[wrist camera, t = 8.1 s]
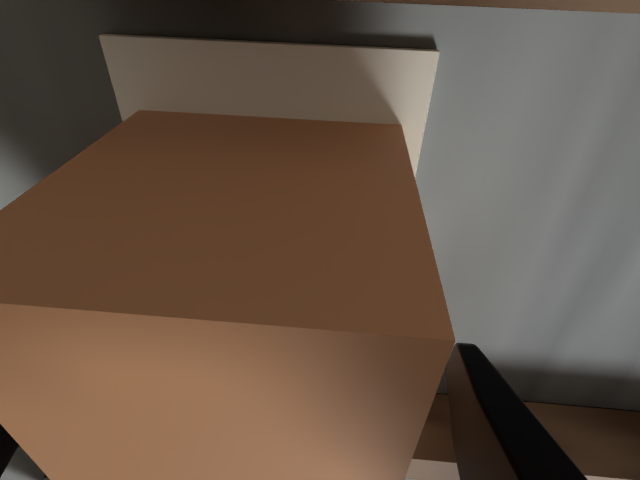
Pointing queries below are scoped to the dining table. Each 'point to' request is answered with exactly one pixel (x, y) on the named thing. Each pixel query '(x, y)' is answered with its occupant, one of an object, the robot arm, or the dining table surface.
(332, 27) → the dining table surface
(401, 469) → the block
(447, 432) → the bay
